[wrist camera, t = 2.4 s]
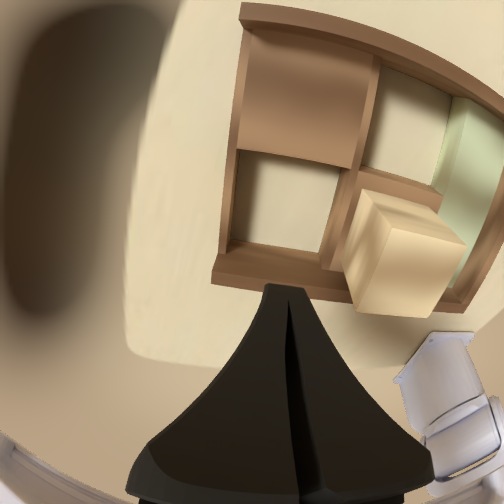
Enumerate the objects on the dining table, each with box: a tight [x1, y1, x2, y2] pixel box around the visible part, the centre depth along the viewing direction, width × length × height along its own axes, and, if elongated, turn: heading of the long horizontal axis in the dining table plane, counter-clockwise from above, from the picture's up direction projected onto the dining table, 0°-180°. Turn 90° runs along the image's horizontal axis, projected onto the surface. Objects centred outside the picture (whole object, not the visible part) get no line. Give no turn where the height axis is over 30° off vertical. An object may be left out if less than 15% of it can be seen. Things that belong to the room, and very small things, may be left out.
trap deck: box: [211, 2, 504, 314], centre depth 14 cm, size 16×20×4 cm
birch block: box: [340, 189, 468, 318], centre depth 14 cm, size 5×5×5 cm
